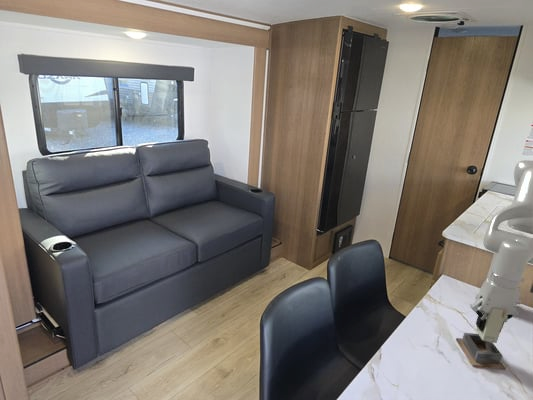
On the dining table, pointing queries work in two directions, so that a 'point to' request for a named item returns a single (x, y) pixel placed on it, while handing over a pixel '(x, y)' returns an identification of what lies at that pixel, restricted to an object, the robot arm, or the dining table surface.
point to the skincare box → (492, 325)
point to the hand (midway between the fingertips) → (488, 328)
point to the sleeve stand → (480, 352)
